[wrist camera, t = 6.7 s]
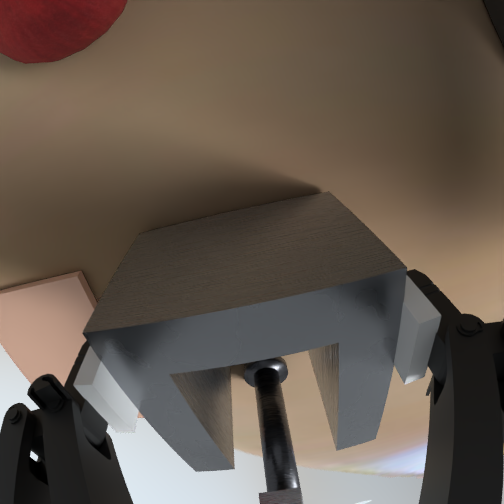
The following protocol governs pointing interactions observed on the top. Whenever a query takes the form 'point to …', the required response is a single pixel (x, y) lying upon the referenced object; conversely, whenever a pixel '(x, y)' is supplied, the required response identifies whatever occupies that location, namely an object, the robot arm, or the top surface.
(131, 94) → the top surface
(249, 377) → the post stand
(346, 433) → the c link
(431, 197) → the top surface
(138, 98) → the top surface
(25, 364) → the tile
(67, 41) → the onion
